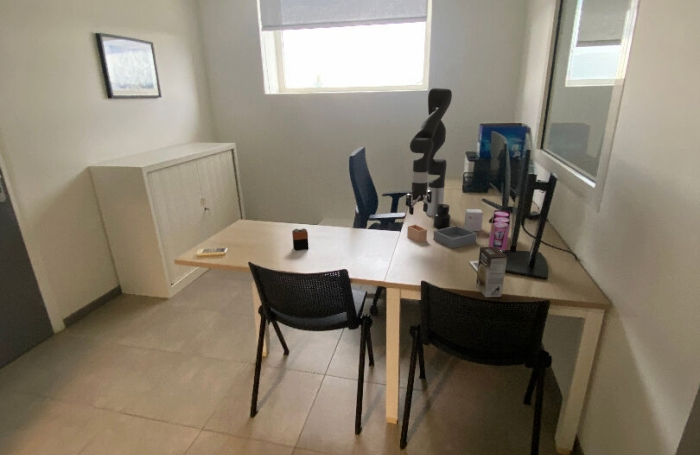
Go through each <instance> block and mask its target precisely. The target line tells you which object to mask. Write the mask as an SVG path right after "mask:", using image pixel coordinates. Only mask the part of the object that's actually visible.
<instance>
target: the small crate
mask: <svg viewBox="0 0 700 455" xmlns="http://www.w3.org/2000/svg"><path fill="white" fill-rule="evenodd" d="M406 234H407V236H406V237H407V238H408V239H410V240H412V241H415V242H416V243H418V244H419V243H422V242H426V241H427V239H428V238H427V236H428V229H427V228H425V227H423V226H420V225H417V224H412V225H407V233H406Z"/></svg>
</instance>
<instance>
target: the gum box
mask: <svg viewBox="0 0 700 455" xmlns="http://www.w3.org/2000/svg"><path fill="white" fill-rule="evenodd" d="M510 225H511V210H510V211H509V210H500V209H499V210H498V209H495V210H494V212H493V216H492V221H491V224H490V232H489V235H490V236H489V239H488V240H489V241H488V247H497V248H498V249H499V250H506V251H507V246H508V239H509V233H510Z"/></svg>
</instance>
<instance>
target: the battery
mask: <svg viewBox="0 0 700 455" xmlns="http://www.w3.org/2000/svg"><path fill="white" fill-rule="evenodd" d="M291 234H292V245H293V250H294V251H296V252H297V251H305V250H309V234H308V229H307V228H300V229H299V228H294V229H293V230H292V232H291Z"/></svg>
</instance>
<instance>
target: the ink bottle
mask: <svg viewBox="0 0 700 455" xmlns="http://www.w3.org/2000/svg"><path fill="white" fill-rule="evenodd" d="M432 226H433V227H434V228H436V229H438V230H440V229H444V228H448V227H451V214H450V205H449V204H446V203H443V204H438V205H437V206H436V213H435V214H434V217H433V225H432Z"/></svg>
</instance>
